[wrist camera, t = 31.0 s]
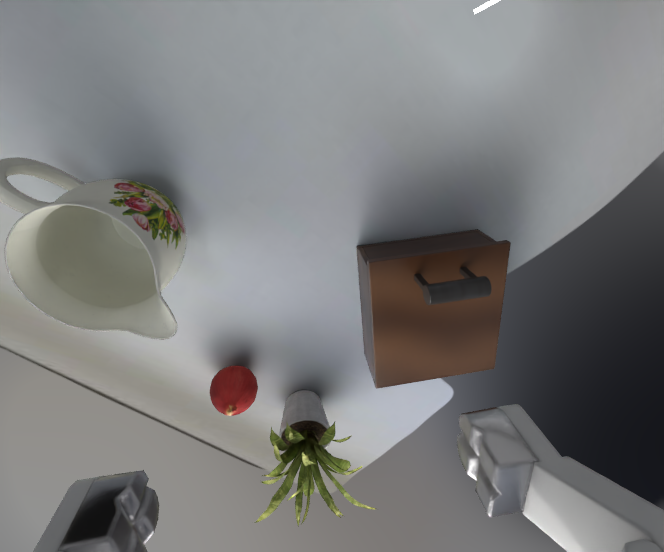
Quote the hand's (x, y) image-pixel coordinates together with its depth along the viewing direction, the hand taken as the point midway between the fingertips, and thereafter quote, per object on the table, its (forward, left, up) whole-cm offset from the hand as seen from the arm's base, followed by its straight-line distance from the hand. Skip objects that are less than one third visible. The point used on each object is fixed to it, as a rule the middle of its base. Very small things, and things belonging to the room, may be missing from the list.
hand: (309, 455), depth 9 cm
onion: (+23, +11, -33) cm, 42 cm away
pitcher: (+13, -10, -33) cm, 37 cm away
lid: (-1, +21, -27) cm, 34 cm away
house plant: (+21, +23, -33) cm, 46 cm away
